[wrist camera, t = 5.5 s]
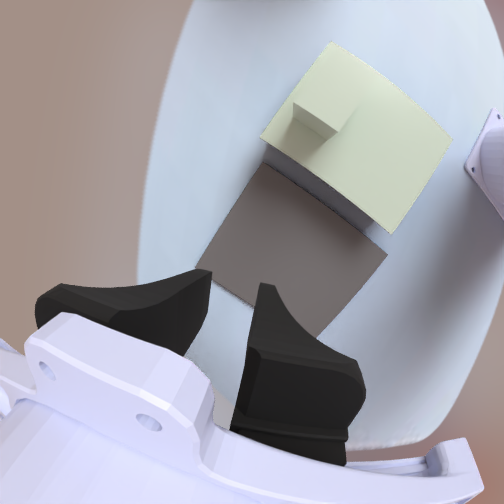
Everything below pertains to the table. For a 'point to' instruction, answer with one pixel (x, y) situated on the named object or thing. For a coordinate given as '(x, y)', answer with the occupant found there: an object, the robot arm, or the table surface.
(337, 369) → the robot arm
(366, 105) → the lid
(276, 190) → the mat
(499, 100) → the table surface
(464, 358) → the table surface
